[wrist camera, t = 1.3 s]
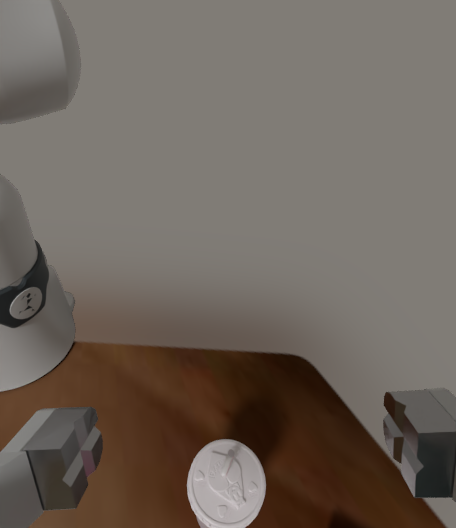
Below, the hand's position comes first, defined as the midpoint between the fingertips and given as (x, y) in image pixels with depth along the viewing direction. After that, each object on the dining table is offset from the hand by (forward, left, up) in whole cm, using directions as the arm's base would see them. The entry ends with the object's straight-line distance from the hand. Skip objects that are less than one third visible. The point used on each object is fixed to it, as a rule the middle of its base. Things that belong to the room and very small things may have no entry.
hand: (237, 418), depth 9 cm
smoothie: (0, +5, -31) cm, 31 cm away
